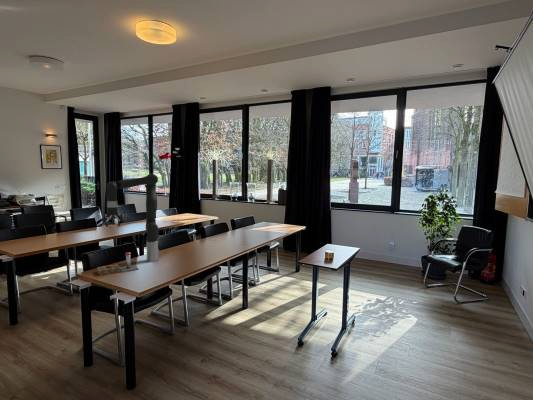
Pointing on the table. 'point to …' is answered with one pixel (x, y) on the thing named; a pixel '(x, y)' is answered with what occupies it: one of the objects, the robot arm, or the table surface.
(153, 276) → the table surface
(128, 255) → the wheel peg
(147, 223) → the robot arm
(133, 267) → the mat
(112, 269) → the eye block
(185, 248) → the table surface
